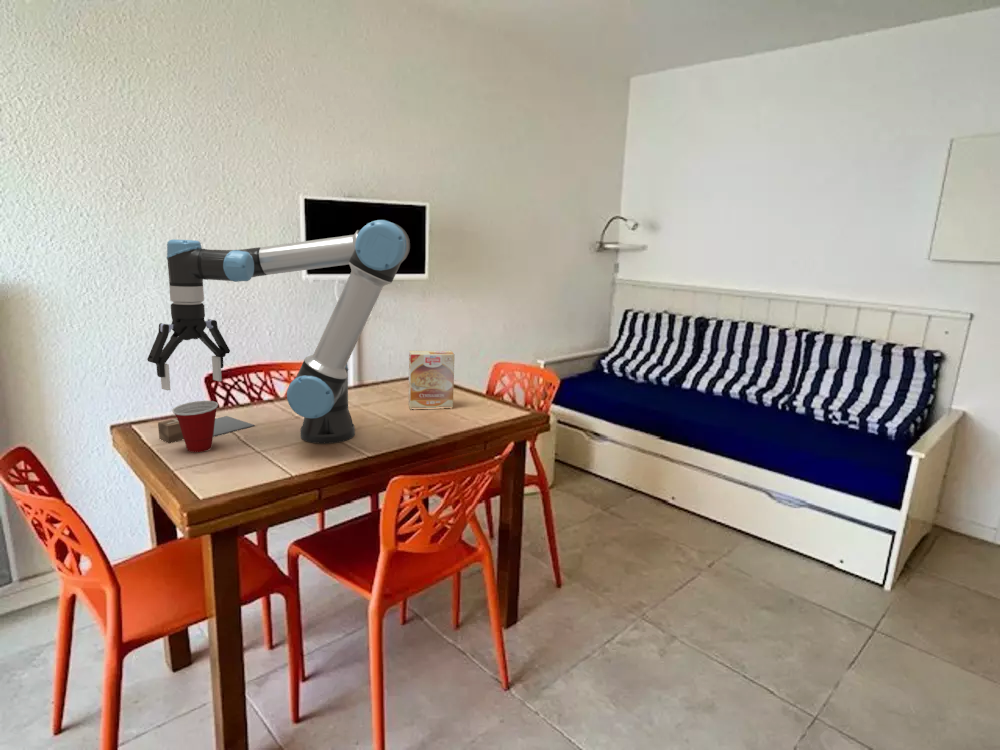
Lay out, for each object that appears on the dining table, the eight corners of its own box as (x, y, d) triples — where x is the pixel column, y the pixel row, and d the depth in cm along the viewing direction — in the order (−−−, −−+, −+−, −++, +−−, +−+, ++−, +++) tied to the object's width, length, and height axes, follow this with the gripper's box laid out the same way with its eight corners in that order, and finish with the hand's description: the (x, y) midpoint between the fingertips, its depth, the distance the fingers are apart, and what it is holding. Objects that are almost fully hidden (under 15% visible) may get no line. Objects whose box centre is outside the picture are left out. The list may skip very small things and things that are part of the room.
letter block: (187, 439, 163) (186, 421, 162) (169, 443, 159) (167, 425, 158) (177, 435, 166) (176, 417, 165) (159, 439, 162) (157, 421, 161)
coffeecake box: (409, 410, 200) (410, 354, 195) (408, 404, 206) (408, 350, 202) (453, 409, 203) (455, 353, 199) (450, 403, 210) (451, 350, 206)
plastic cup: (169, 447, 156) (165, 404, 153) (212, 439, 163) (209, 397, 161) (183, 459, 148) (179, 413, 146) (227, 450, 156) (224, 406, 153)
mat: (254, 426, 176) (254, 424, 176) (210, 437, 165) (210, 436, 165) (226, 417, 184) (226, 415, 184) (182, 427, 172) (182, 426, 172)
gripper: (224, 298, 160) (228, 374, 164) (126, 303, 139) (134, 390, 144) (241, 301, 156) (244, 379, 160) (143, 307, 135) (150, 396, 140)
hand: (192, 384), depth 152 cm, fingers open, 13 cm apart
